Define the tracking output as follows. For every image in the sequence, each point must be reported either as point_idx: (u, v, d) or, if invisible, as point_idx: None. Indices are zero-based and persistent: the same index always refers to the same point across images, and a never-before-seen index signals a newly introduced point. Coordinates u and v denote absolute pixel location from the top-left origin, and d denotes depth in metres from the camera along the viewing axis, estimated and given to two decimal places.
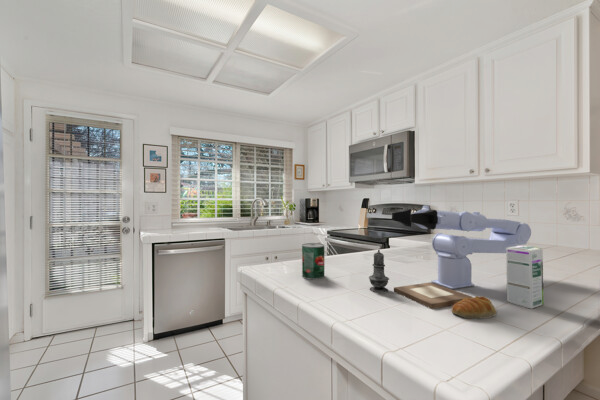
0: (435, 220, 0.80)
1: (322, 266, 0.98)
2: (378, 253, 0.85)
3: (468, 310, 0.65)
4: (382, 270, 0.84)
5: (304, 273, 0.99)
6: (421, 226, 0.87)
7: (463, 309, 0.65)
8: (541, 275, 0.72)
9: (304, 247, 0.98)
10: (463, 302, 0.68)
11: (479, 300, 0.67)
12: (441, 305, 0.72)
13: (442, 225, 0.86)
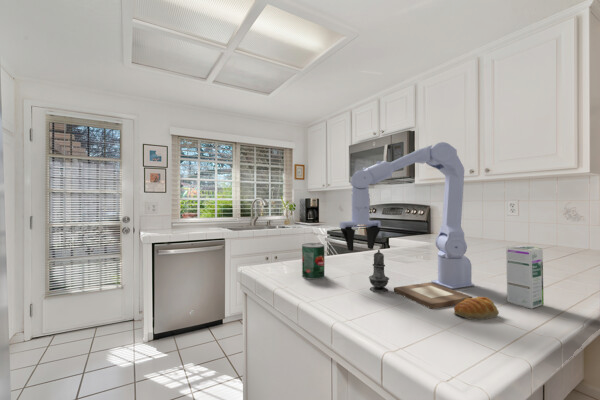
0: (344, 230, 0.92)
1: (322, 266, 0.98)
2: (378, 253, 0.85)
3: (471, 311, 0.65)
4: (382, 270, 0.84)
5: (304, 273, 0.99)
6: None
7: (466, 310, 0.65)
8: (541, 275, 0.72)
9: (304, 247, 0.98)
10: (465, 303, 0.67)
11: (481, 301, 0.67)
12: (441, 305, 0.72)
13: (357, 209, 0.92)
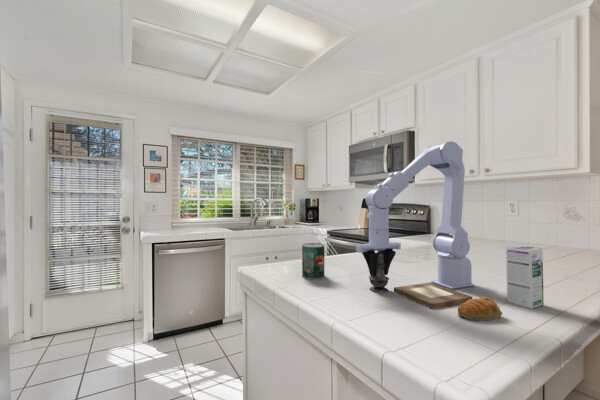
0: (366, 253, 0.84)
1: (322, 266, 0.98)
2: (378, 253, 0.85)
3: (475, 312, 0.64)
4: (382, 270, 0.84)
5: (304, 273, 0.99)
6: None
7: (470, 311, 0.64)
8: (541, 275, 0.72)
9: (304, 247, 0.98)
10: (469, 304, 0.67)
11: (484, 301, 0.66)
12: (441, 305, 0.72)
13: (375, 230, 0.83)
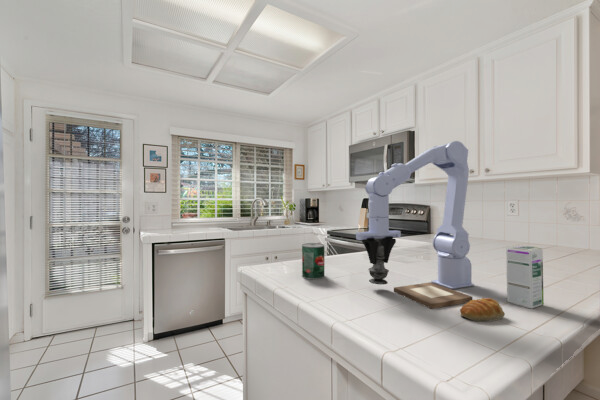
0: (366, 241, 0.84)
1: (322, 266, 0.98)
2: (378, 245, 0.85)
3: (478, 313, 0.63)
4: (382, 262, 0.84)
5: (304, 273, 0.99)
6: None
7: (473, 312, 0.64)
8: (541, 275, 0.72)
9: (304, 247, 0.98)
10: (471, 304, 0.66)
11: (487, 302, 0.66)
12: (441, 305, 0.72)
13: (375, 218, 0.83)
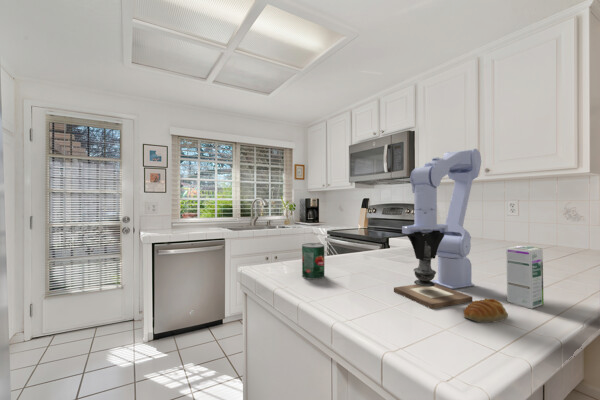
0: (413, 235, 0.79)
1: (322, 266, 0.98)
2: (425, 245, 0.80)
3: (482, 315, 0.63)
4: (429, 263, 0.79)
5: (304, 273, 0.99)
6: None
7: (477, 313, 0.63)
8: (541, 275, 0.72)
9: (304, 247, 0.98)
10: (475, 306, 0.66)
11: (491, 303, 0.65)
12: (441, 305, 0.72)
13: (423, 210, 0.78)
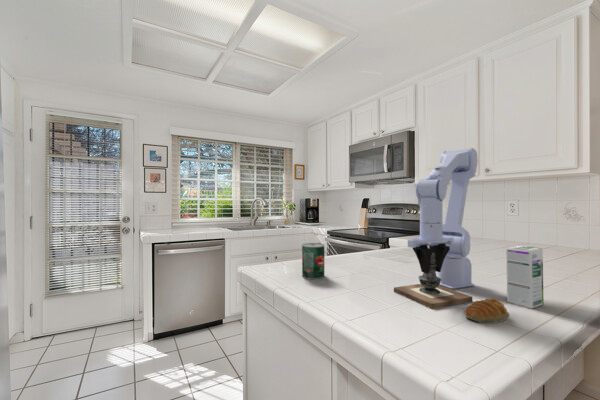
0: (419, 249, 0.78)
1: (322, 266, 0.98)
2: None
3: (484, 315, 0.63)
4: (434, 270, 0.79)
5: (304, 273, 0.99)
6: None
7: (479, 313, 0.63)
8: (541, 275, 0.72)
9: (304, 247, 0.98)
10: (476, 306, 0.65)
11: (492, 303, 0.65)
12: (441, 305, 0.72)
13: (429, 224, 0.77)
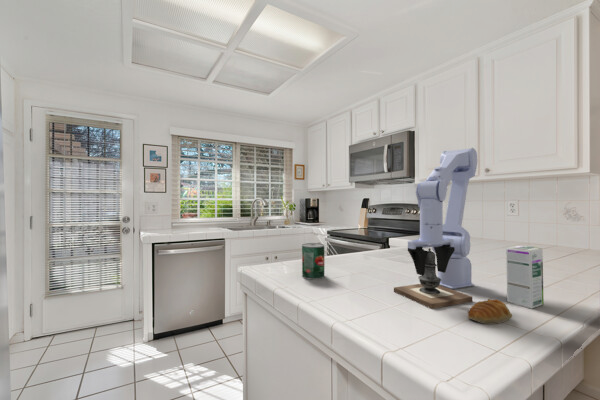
0: (414, 250, 0.77)
1: (322, 266, 0.98)
2: (429, 252, 0.79)
3: (487, 316, 0.62)
4: (434, 270, 0.79)
5: (304, 273, 0.99)
6: None
7: (482, 315, 0.62)
8: (541, 275, 0.72)
9: (304, 247, 0.98)
10: (479, 307, 0.65)
11: (495, 304, 0.65)
12: (441, 305, 0.72)
13: (429, 225, 0.77)
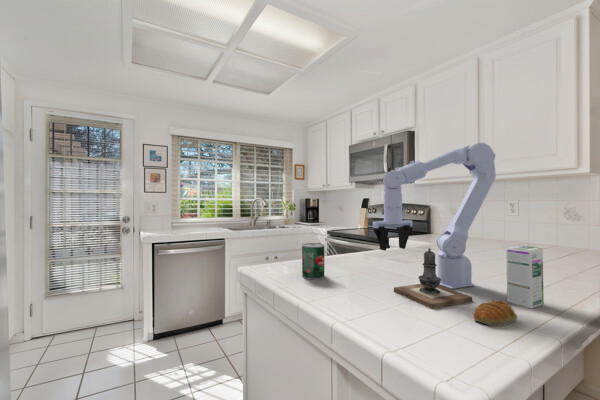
0: (377, 229, 0.92)
1: (322, 266, 0.98)
2: (429, 252, 0.79)
3: (494, 317, 0.61)
4: (434, 270, 0.79)
5: (304, 273, 0.99)
6: None
7: (489, 316, 0.61)
8: (541, 275, 0.72)
9: (304, 247, 0.98)
10: (485, 308, 0.64)
11: (500, 305, 0.64)
12: (441, 305, 0.72)
13: (390, 208, 0.92)
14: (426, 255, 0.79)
